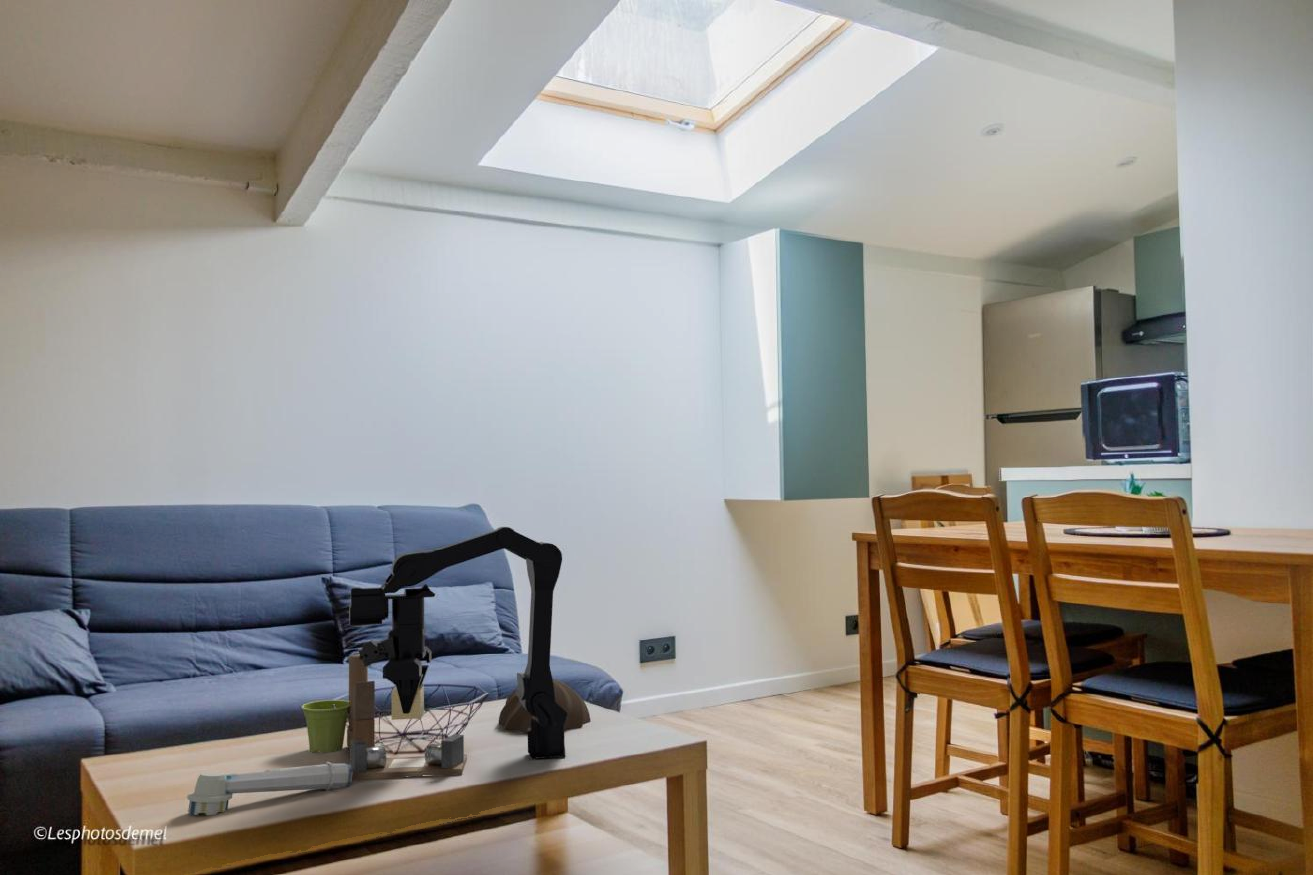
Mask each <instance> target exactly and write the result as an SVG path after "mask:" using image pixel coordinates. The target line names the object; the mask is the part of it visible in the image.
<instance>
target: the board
mask: <svg viewBox="0 0 1313 875" xmlns="http://www.w3.org/2000/svg"><path fill="white" fill-rule="evenodd" d="M467 755H468V754H467V753H465V754H464V762H463V763H461V764H460V765H458V766H457V767H455V768H453V769H442V765H428V764H426V761H425V755H423V756H422V755H420V756H403V757H401V756H399V757H398V756H397V757H386V766H385V767H379V768H372V769H366V773H359V774H354V773H352V781H354V780H355V781H361V780H376V779H377V780H378V779H379V780H381V779H395V778H394V777H403V778H407V777H406V776H423V775H443V776H455V775H454V774H462V775H463V773H462V772H464V770H465V766H466V762H467V760H468V759H467ZM352 772H353V771H352ZM423 777H424V776H423Z"/></svg>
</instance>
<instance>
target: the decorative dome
mask: <svg viewBox="0 0 1313 875" xmlns="http://www.w3.org/2000/svg"><path fill="white" fill-rule="evenodd" d="M552 679H553V683H554V691H555V702H556V703H557V704H558V705H559V706H560V707H561V708H563V709H564V710H565V711H566V712H567V718H566V721H565V724H564V732H566V731H570V730H578V729H582V728H583V725H585V724H589V723H591V716H590V710H589V708H588V707H587V706H588V705H587V704H586V703H585V701H584V699H583V698H582V697H581V695H579V694H578V693H577V692H576V690H574V689H573V688H572V687H571V686H569V685H568V684H567V683H565V682H563V681H561V680H559V679H555V678H552ZM516 690H517V688H515V689H514V690H513V691H512V692H511V693H510V694H509V695H508V696H507V698H506V701H505V703H504V704H505V705H503V707H502V708H501V711H500V712H499V716H498V725H500V726H501V727H503V731H506V732H507V731H509V732H518V733H522V734H525V735H528V728H531V720H532V719H534V718H532V717H531V715H530V713H529V712H528V711H527V710H526V709H525V708H524V707H523V706H522V705H521V703H520V701H519V697H518V696H517V695H516V694H515V693H516Z"/></svg>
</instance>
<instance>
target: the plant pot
mask: <svg viewBox="0 0 1313 875" xmlns="http://www.w3.org/2000/svg"><path fill="white" fill-rule="evenodd" d="M333 704H335V707H336V709H337V710H336V709H335V708H334V705H333ZM349 707H350V705H349V700H342V699H327V700H324V699H323V700H317V701H312V702H307V703H304V704H303V705H302V706H301V709H302V711H303V715H304V717H305V720H306V728H307V729H306V730H307V736H308V745H309V751H310V752H312V753H316V752H319V753H322V754H323V753H324V754H325V753H326V754H327V753H334V752H336V751H338V750H339V749H343V747H344V741H345V736H346V735H345V734H346V727H347V720H348V716H349Z"/></svg>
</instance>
